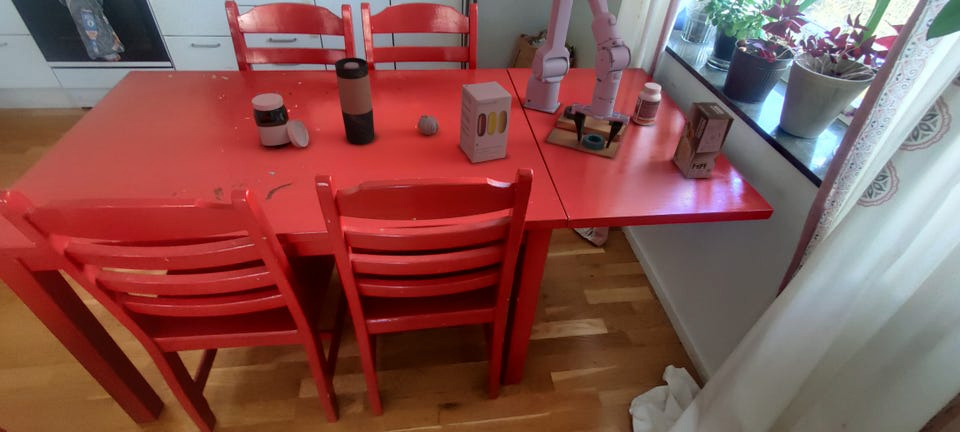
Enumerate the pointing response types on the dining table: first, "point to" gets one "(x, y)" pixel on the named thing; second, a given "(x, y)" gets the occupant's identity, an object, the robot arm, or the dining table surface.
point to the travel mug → (355, 99)
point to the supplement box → (484, 121)
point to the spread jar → (277, 123)
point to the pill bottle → (647, 104)
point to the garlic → (428, 125)
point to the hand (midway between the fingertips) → (593, 143)
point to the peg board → (590, 126)
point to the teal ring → (597, 141)
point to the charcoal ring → (569, 113)
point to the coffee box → (702, 139)
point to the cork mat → (578, 143)
